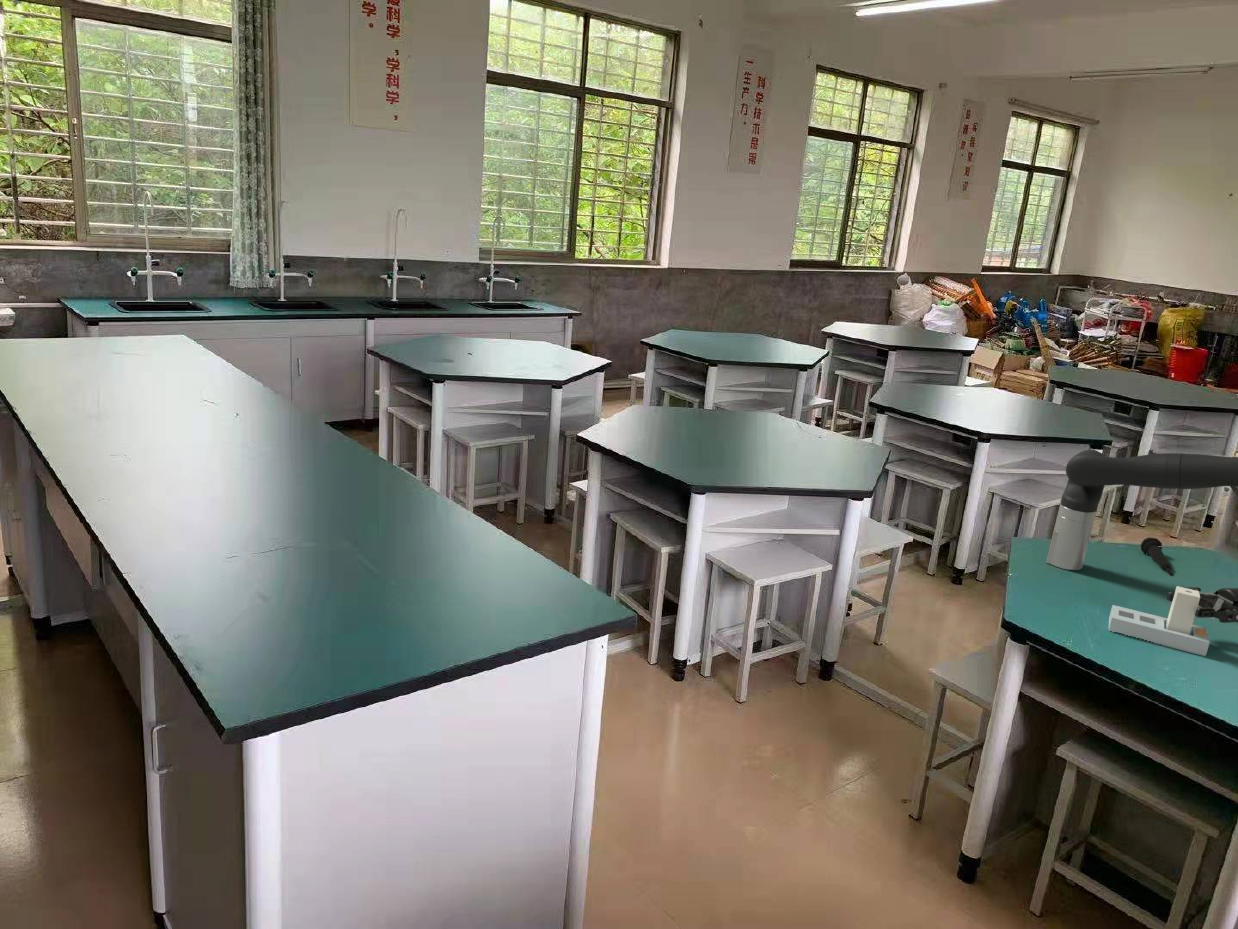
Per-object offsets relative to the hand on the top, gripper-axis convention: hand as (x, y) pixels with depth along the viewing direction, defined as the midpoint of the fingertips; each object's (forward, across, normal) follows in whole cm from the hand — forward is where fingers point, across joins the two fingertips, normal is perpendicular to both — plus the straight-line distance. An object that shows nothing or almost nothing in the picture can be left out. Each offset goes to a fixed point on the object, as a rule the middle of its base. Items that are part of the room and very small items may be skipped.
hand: (1182, 604), depth 212 cm
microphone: (-37, -48, +10) cm, 61 cm away
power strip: (+2, -3, +10) cm, 10 cm away
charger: (-1, 0, +9) cm, 9 cm away
